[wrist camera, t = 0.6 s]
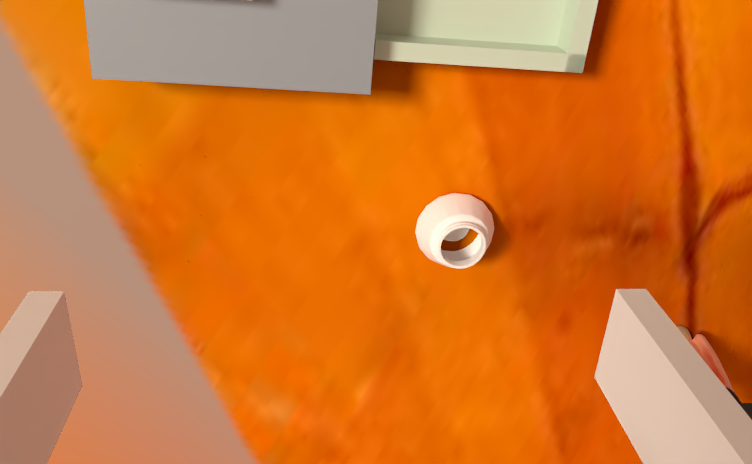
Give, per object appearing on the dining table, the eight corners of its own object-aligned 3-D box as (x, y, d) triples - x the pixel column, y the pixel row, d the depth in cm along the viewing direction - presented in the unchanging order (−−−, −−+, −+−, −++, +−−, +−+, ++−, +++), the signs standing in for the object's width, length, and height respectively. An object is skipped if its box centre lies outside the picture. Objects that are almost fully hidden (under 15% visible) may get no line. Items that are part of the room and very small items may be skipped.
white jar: (407, 202, 43) (424, 267, 45) (413, 222, 41) (430, 290, 43) (483, 181, 43) (496, 248, 45) (495, 201, 40) (508, 270, 43)
